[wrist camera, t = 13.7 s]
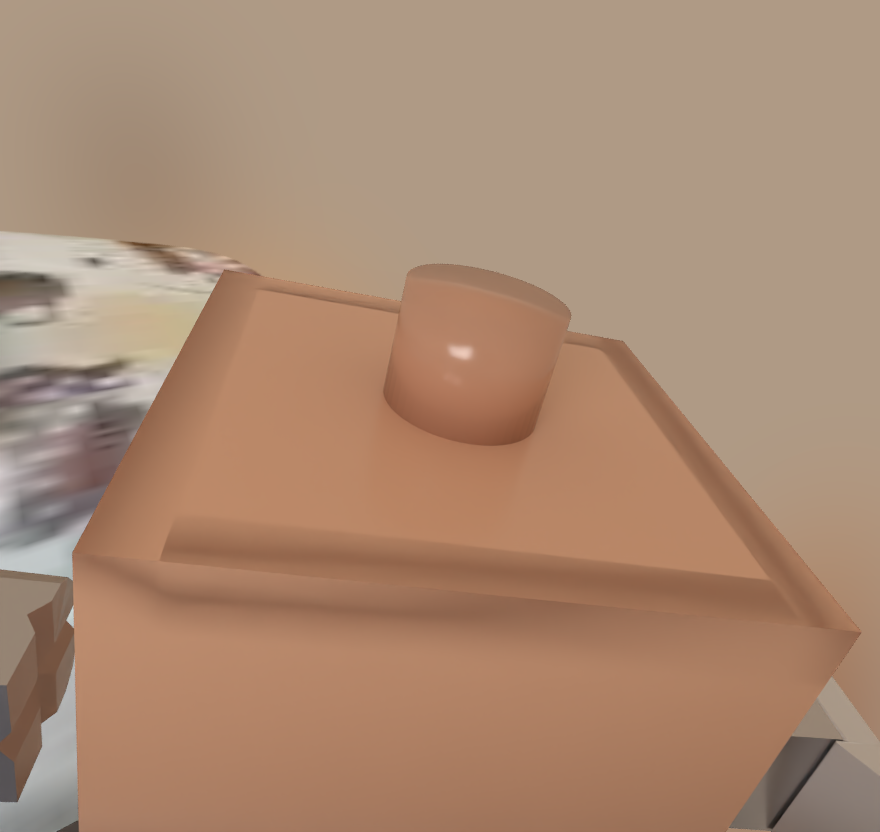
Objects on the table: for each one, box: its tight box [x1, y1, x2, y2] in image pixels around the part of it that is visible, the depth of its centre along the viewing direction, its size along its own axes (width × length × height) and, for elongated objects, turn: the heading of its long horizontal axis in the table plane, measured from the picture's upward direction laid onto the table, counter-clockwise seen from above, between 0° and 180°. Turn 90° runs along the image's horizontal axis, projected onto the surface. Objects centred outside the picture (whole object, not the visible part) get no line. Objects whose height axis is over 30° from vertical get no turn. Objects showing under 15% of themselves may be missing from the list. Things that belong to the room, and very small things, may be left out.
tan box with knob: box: [72, 264, 861, 832], centre depth 10 cm, size 6×6×12 cm
